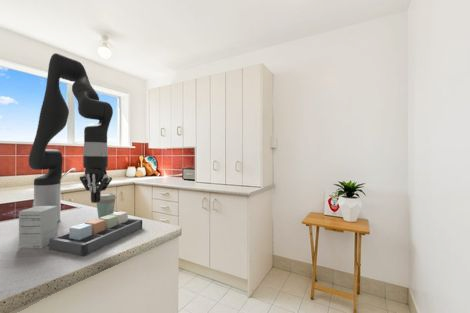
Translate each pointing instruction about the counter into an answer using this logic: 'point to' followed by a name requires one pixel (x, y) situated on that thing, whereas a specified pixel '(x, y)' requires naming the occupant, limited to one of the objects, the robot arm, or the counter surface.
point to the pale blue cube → (80, 231)
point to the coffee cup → (106, 204)
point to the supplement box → (37, 226)
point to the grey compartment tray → (94, 239)
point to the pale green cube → (109, 221)
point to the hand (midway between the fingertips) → (95, 202)
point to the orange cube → (97, 225)
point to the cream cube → (121, 217)
